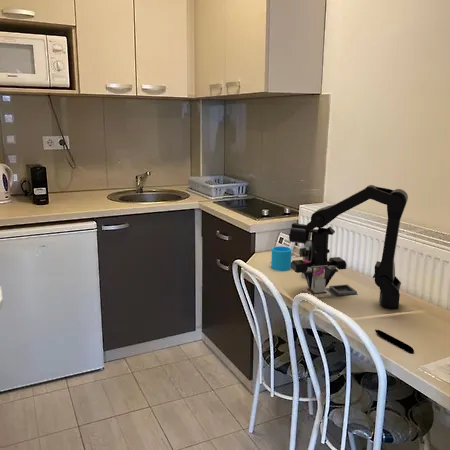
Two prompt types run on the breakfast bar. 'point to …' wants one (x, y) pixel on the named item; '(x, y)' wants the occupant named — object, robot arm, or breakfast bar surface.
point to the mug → (281, 258)
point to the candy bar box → (316, 270)
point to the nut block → (318, 285)
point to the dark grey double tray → (334, 291)
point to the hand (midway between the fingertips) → (317, 287)
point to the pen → (395, 341)
